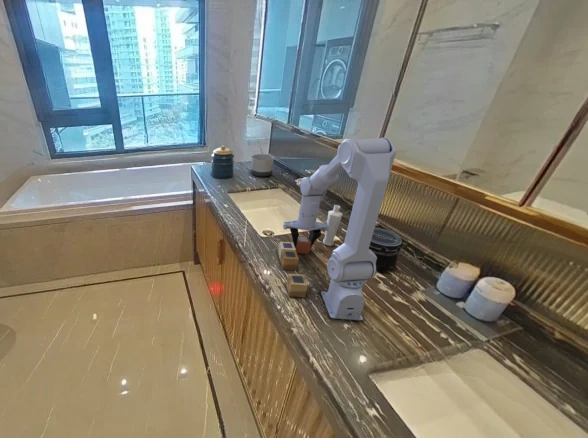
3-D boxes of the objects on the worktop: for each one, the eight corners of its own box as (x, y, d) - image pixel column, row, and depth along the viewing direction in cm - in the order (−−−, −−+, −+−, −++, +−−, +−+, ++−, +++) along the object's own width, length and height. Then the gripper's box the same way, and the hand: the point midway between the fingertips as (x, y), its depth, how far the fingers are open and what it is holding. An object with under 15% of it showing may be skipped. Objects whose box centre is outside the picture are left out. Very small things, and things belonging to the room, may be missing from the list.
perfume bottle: (336, 247, 102) (346, 209, 94) (323, 245, 102) (332, 208, 95) (333, 240, 105) (343, 203, 98) (321, 239, 106) (329, 203, 99)
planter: (246, 172, 173) (247, 155, 168) (265, 169, 176) (266, 153, 171) (256, 179, 162) (258, 161, 157) (276, 176, 166) (278, 159, 161)
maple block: (305, 297, 80) (308, 285, 78) (288, 296, 80) (291, 283, 78) (301, 286, 84) (304, 274, 82) (286, 285, 84) (288, 273, 82)
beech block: (296, 270, 90) (299, 258, 88) (282, 269, 91) (284, 258, 89) (294, 261, 94) (296, 250, 92) (280, 261, 95) (282, 249, 92)
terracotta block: (308, 254, 98) (311, 242, 96) (295, 253, 98) (297, 242, 96) (306, 246, 102) (308, 235, 100) (293, 246, 102) (295, 235, 100)
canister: (209, 172, 174) (209, 143, 165) (229, 170, 176) (231, 142, 167) (214, 179, 162) (214, 149, 154) (236, 178, 164) (237, 147, 156)
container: (388, 253, 98) (397, 228, 93) (399, 277, 87) (410, 250, 82) (348, 247, 101) (355, 223, 96) (353, 269, 91) (362, 243, 86)
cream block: (293, 260, 95) (295, 249, 92) (279, 260, 95) (281, 248, 93) (291, 253, 99) (293, 242, 96) (278, 252, 99) (279, 241, 97)
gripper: (327, 207, 96) (319, 241, 102) (283, 206, 97) (278, 239, 104) (334, 217, 90) (325, 252, 96) (287, 215, 91) (281, 250, 98)
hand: (301, 246), depth 100 cm, fingers closed on terracotta block, 4 cm apart
